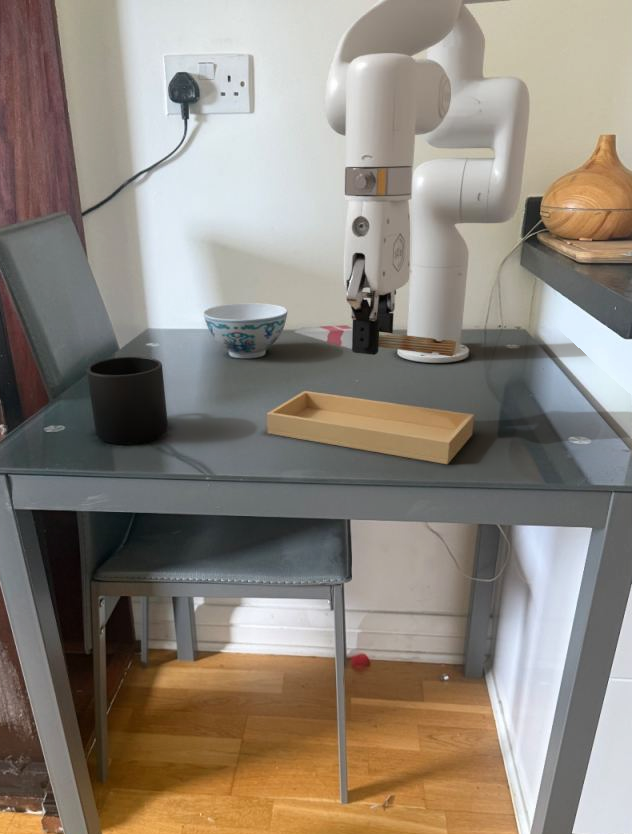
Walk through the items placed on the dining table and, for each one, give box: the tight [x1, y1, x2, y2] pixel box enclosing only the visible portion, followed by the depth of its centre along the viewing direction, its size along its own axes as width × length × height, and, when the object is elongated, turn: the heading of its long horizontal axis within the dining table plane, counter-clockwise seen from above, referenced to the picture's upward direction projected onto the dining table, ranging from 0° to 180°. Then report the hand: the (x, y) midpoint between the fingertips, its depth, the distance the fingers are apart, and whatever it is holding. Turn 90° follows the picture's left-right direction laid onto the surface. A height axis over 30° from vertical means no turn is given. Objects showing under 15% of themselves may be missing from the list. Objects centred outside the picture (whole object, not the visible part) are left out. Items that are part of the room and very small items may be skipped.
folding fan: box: [294, 324, 456, 356], centre depth 87 cm, size 4×3×20 cm
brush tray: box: [266, 390, 475, 465], centre depth 92 cm, size 11×24×3 cm, turn 62°
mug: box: [86, 356, 169, 445], centre depth 94 cm, size 9×12×9 cm
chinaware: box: [203, 302, 288, 359], centre depth 129 cm, size 15×15×8 cm
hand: (372, 347), depth 88 cm, fingers closed on folding fan, 3 cm apart
